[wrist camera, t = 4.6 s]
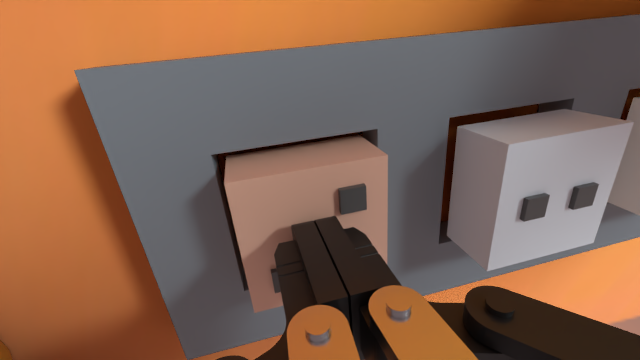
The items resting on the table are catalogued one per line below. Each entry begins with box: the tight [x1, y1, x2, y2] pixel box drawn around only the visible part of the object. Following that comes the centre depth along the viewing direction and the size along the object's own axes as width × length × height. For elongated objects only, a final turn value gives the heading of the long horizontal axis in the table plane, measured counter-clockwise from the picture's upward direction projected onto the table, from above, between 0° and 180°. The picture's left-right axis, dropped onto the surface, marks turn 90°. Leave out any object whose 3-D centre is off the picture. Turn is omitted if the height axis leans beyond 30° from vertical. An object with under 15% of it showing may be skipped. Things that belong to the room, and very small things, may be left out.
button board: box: [74, 14, 640, 360], centre depth 15 cm, size 30×12×2 cm, turn 95°
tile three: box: [224, 135, 388, 313], centre depth 12 cm, size 5×5×3 cm
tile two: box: [447, 109, 634, 271], centre depth 13 cm, size 5×5×3 cm
